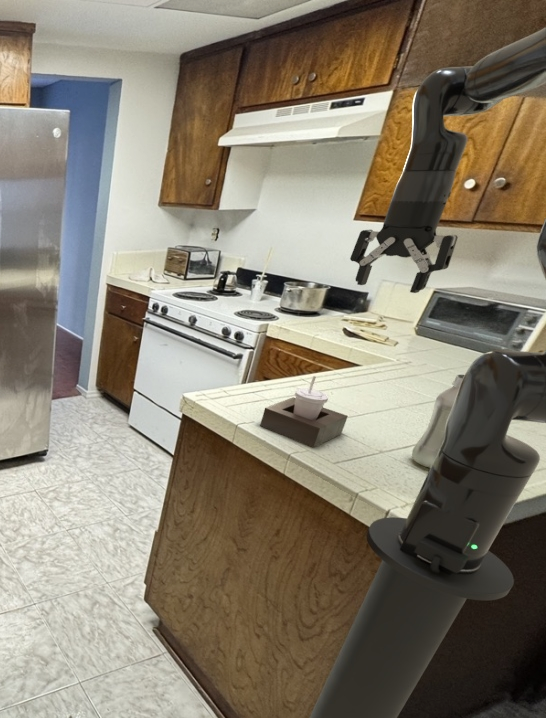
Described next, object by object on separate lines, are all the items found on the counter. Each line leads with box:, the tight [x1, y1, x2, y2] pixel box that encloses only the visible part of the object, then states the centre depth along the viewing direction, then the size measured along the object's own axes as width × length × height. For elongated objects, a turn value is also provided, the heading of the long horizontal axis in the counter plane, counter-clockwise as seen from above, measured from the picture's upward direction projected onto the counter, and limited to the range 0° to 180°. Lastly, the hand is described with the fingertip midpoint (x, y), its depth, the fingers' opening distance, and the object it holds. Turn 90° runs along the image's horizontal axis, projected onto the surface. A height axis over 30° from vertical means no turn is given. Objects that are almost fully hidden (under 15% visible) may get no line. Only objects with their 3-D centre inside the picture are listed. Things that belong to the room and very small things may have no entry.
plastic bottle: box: [411, 374, 465, 469], centre depth 95 cm, size 6×7×20 cm
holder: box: [259, 396, 349, 448], centre depth 112 cm, size 12×12×5 cm
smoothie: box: [293, 375, 329, 421], centre depth 111 cm, size 6×6×14 cm
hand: (387, 288), depth 91 cm, fingers open, 8 cm apart
